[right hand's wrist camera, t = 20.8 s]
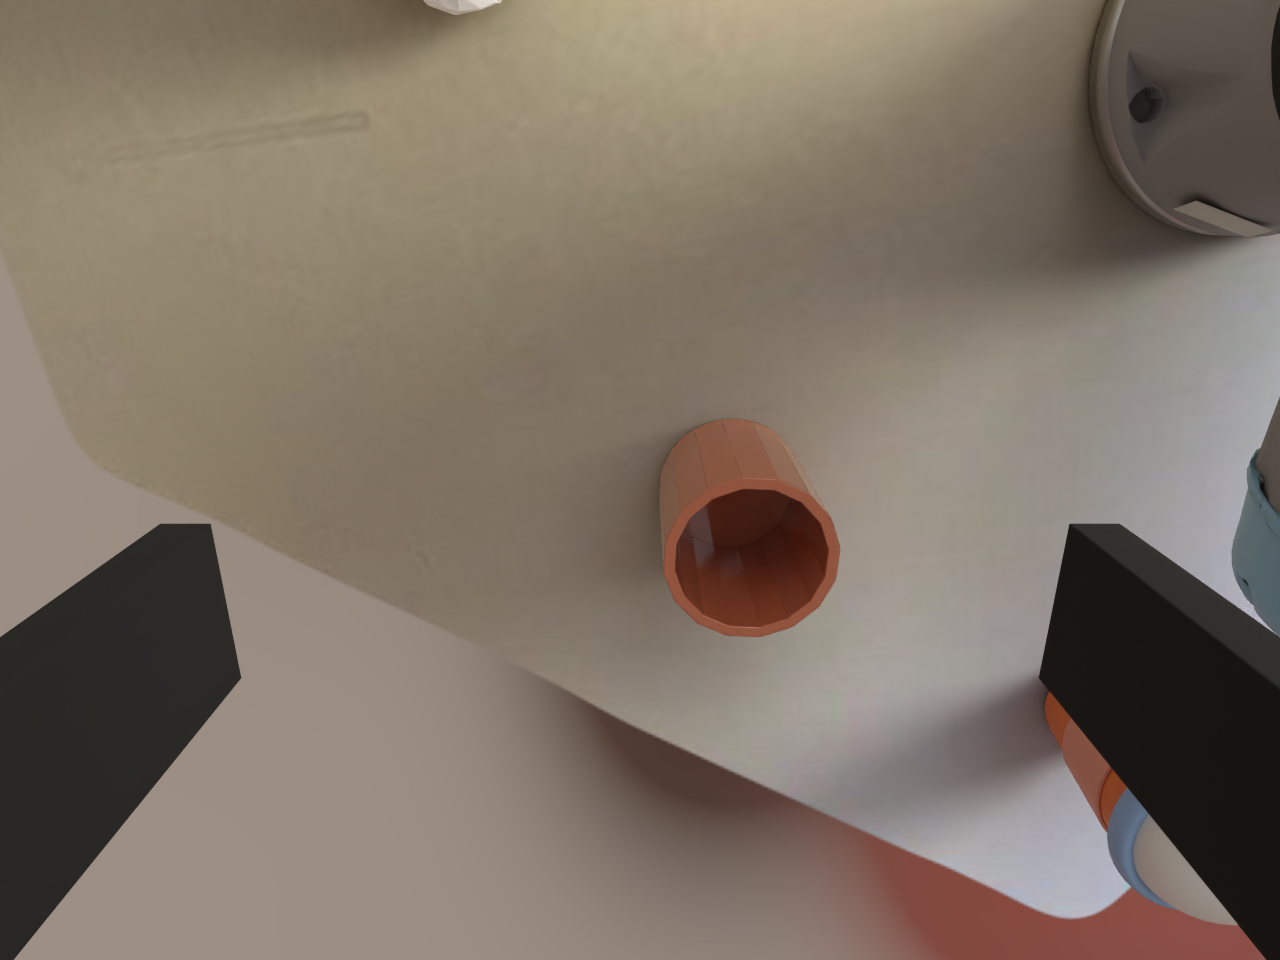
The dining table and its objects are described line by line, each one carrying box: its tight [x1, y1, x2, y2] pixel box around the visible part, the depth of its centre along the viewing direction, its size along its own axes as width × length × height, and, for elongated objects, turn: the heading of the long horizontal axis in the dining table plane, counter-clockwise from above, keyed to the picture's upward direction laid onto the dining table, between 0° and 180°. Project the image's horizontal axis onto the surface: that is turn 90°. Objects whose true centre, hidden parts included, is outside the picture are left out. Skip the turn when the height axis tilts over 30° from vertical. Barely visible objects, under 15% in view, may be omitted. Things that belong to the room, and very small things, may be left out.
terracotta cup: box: [659, 419, 840, 637], centre depth 38 cm, size 7×7×9 cm
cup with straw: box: [1045, 691, 1238, 925], centre depth 38 cm, size 9×9×18 cm
